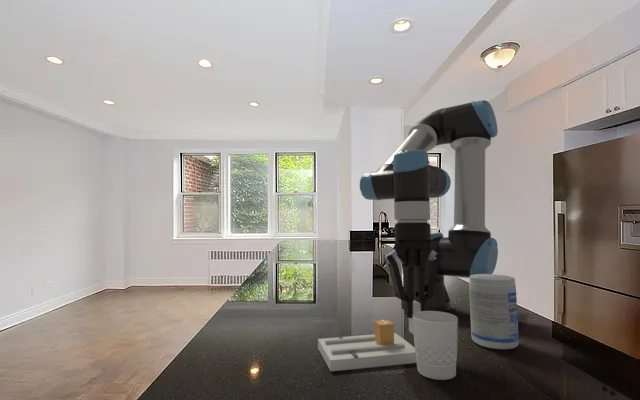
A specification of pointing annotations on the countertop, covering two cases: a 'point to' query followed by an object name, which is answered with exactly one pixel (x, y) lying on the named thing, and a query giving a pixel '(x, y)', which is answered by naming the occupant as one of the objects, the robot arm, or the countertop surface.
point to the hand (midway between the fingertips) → (415, 332)
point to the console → (364, 352)
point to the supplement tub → (493, 311)
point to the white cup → (436, 344)
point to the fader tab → (384, 332)
